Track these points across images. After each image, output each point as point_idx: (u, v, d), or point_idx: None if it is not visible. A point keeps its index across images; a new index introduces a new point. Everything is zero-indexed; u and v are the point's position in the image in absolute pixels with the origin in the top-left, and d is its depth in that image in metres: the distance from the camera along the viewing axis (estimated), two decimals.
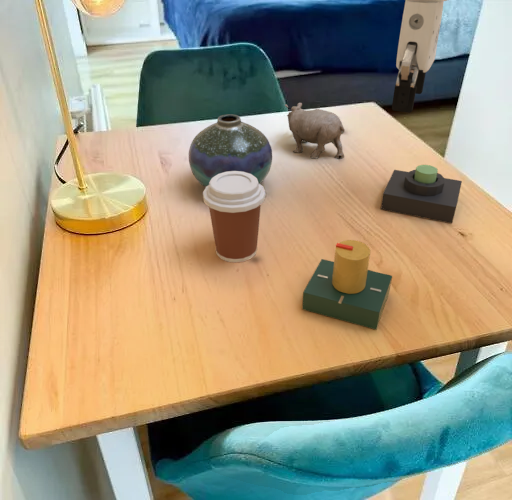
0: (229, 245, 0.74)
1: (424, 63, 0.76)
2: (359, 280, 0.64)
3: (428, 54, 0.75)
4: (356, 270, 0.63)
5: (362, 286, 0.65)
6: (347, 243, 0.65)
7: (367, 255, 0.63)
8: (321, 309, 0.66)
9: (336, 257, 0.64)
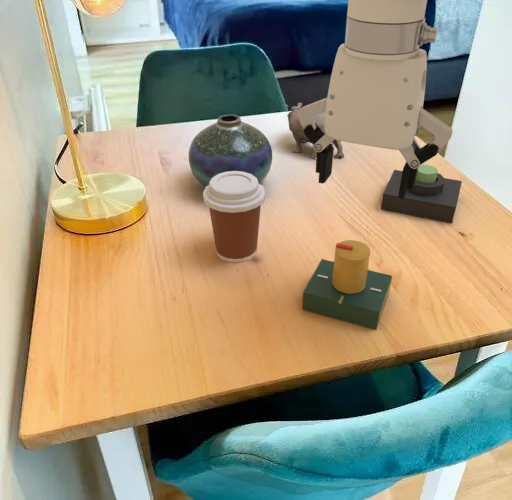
0: (229, 245, 0.74)
1: None
2: (359, 280, 0.64)
3: None
4: (356, 270, 0.63)
5: (362, 286, 0.65)
6: (347, 243, 0.65)
7: (367, 255, 0.63)
8: (321, 309, 0.66)
9: (336, 257, 0.64)
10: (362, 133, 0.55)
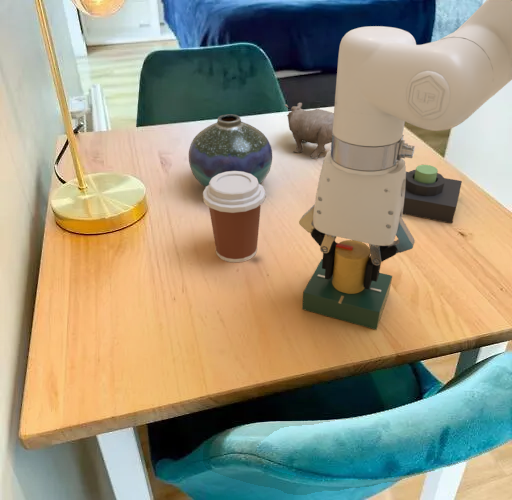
0: (229, 245, 0.74)
1: None
2: (359, 280, 0.64)
3: None
4: (356, 270, 0.63)
5: (362, 286, 0.65)
6: (347, 243, 0.65)
7: (367, 255, 0.63)
8: (321, 309, 0.66)
9: (336, 257, 0.64)
10: (348, 231, 0.60)
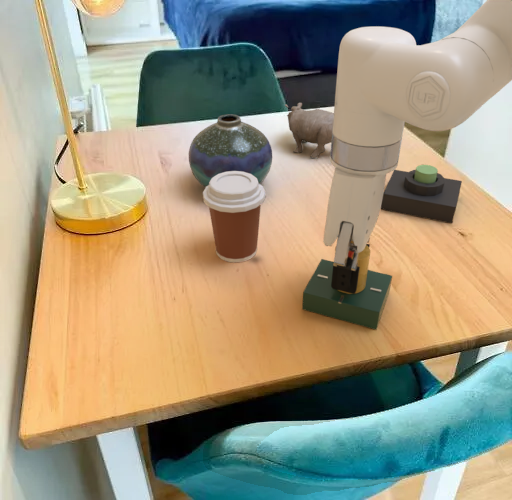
0: (229, 245, 0.74)
1: None
2: None
3: None
4: None
5: None
6: None
7: None
8: (321, 309, 0.66)
9: (360, 264, 0.63)
10: (373, 228, 0.61)
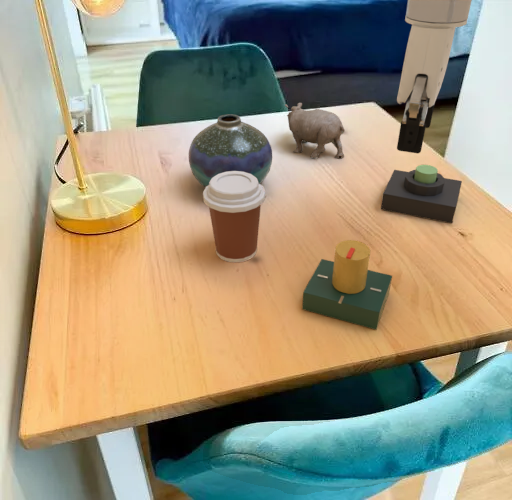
0: (229, 245, 0.74)
1: None
2: None
3: None
4: None
5: None
6: (342, 251, 0.64)
7: (360, 242, 0.65)
8: (321, 309, 0.66)
9: (359, 264, 0.63)
10: None
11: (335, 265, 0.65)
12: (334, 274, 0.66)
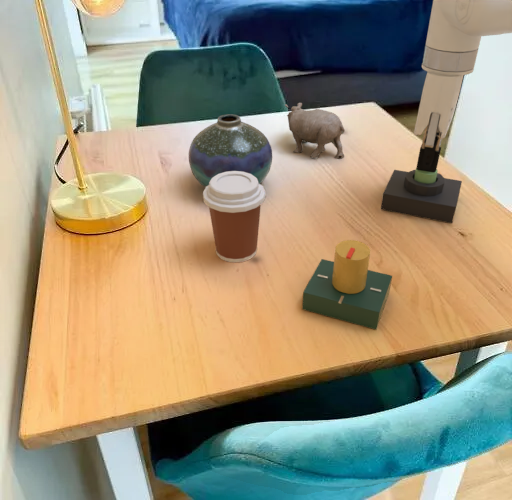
0: (229, 245, 0.74)
1: None
2: None
3: None
4: None
5: None
6: (342, 251, 0.64)
7: (360, 242, 0.65)
8: (321, 309, 0.66)
9: (359, 264, 0.63)
10: None
11: (335, 265, 0.65)
12: (334, 274, 0.66)
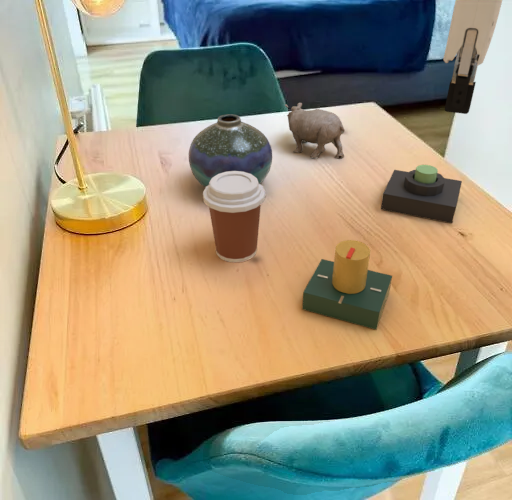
0: (229, 245, 0.74)
1: None
2: None
3: None
4: None
5: None
6: (342, 251, 0.64)
7: (360, 242, 0.65)
8: (321, 309, 0.66)
9: (359, 264, 0.63)
10: None
11: (335, 265, 0.65)
12: (334, 274, 0.66)
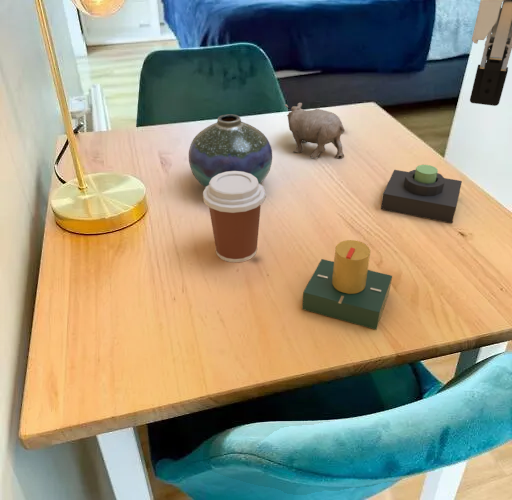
0: (229, 245, 0.74)
1: None
2: None
3: None
4: None
5: None
6: (342, 251, 0.64)
7: (360, 242, 0.65)
8: (321, 309, 0.66)
9: (359, 264, 0.63)
10: None
11: (335, 265, 0.65)
12: (334, 274, 0.66)
